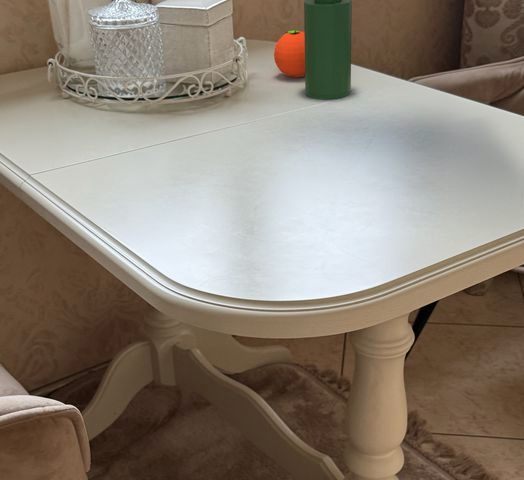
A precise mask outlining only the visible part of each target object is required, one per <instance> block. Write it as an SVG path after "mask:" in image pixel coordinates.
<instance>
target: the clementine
mask: <svg viewBox="0 0 524 480" xmlns="http://www.w3.org/2000/svg"><path fill="white" fill-rule="evenodd" d="M273 58H274V62H275V65H276V67H277V68H278V70H279V71H280V72H281V73H282V74H284V75H285V76H288V77H292V78H300V77H303V76H305V36H304V31H299V30H296V29H293V30H288V31H286V32H285V33H284V34H283V35H282V36H281V37H280V38H279V39H278V40H277V41H276V44H275V46H274V52H273Z"/></svg>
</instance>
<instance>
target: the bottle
mask: <svg viewBox="0 0 524 480" xmlns="http://www.w3.org/2000/svg"><path fill="white" fill-rule="evenodd" d="M303 23H304V24H303V25H304V26H303V32H304V36H305V75H304V85H305V86H304V87H305V88H304V90H305V91H304V92H305V95H306V96H307V97H309V98H312V99H316V100H317V99H318V100H334V99H341V98H344V97H347V96H348V95H350V94H351V87H352V36H353V35H352V34H353V33H352V32H353V31H352V27H353V26H352V25H353V0H303Z"/></svg>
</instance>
